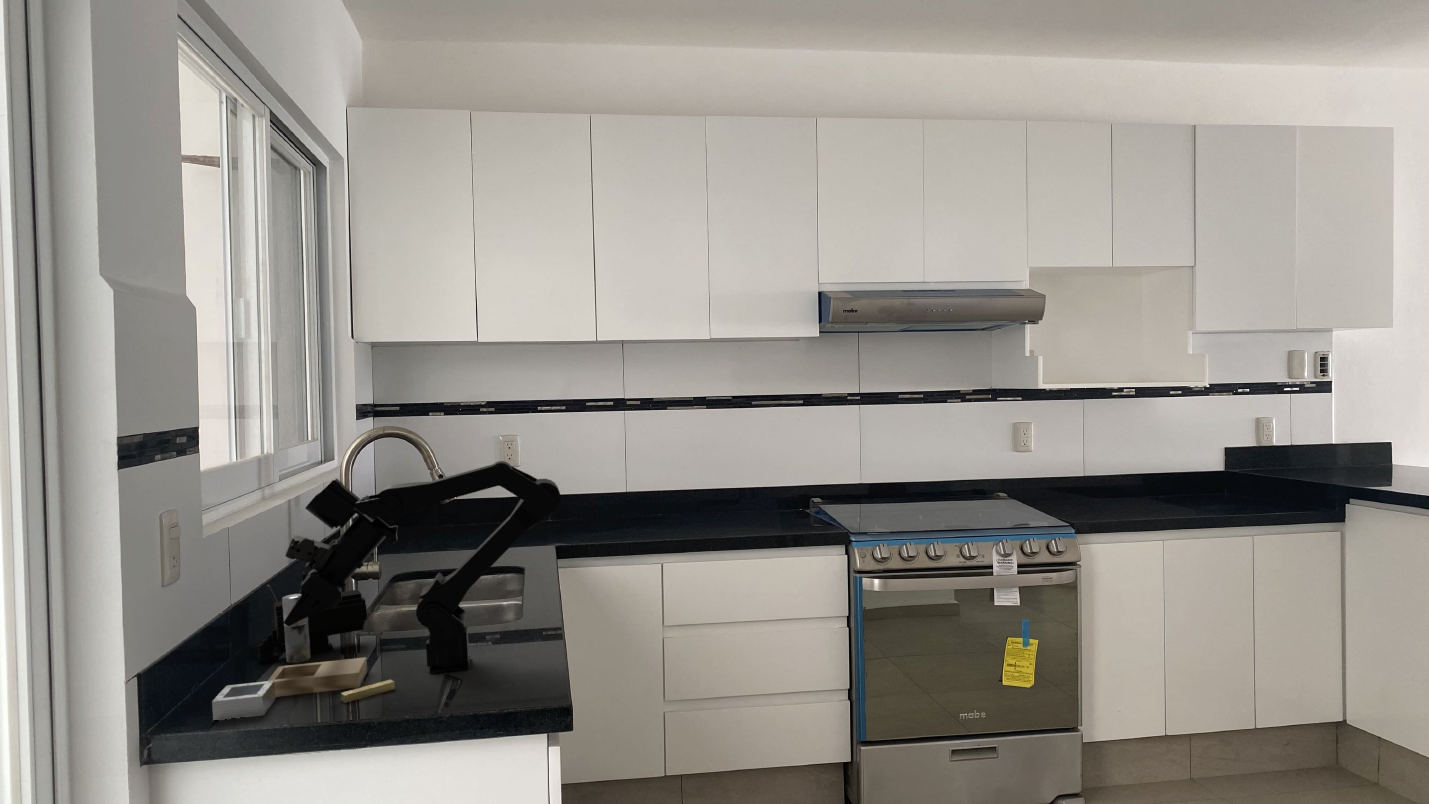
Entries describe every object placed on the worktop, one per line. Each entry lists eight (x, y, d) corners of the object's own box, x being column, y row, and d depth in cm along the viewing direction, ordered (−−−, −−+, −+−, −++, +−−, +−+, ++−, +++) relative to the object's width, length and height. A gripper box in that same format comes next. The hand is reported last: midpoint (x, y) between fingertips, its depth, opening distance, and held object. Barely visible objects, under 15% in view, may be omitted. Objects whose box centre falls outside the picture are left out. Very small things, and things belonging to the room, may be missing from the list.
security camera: (258, 656, 166) (254, 603, 166) (363, 637, 176) (360, 587, 175) (260, 667, 160) (257, 611, 160) (370, 646, 170) (366, 594, 169)
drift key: (390, 686, 147) (390, 679, 147) (394, 688, 146) (394, 681, 146) (341, 700, 142) (340, 693, 142) (344, 703, 141) (344, 695, 141)
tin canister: (313, 654, 151) (309, 593, 151) (305, 662, 148) (301, 598, 147) (292, 656, 151) (287, 594, 150) (283, 663, 147) (278, 600, 147)
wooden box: (367, 671, 155) (366, 657, 155) (359, 687, 148) (358, 672, 148) (279, 681, 152) (278, 666, 152) (267, 697, 145) (266, 682, 145)
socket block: (275, 698, 144) (274, 680, 144) (263, 715, 137) (262, 695, 137) (227, 704, 142) (226, 685, 142) (213, 721, 136) (212, 701, 136)
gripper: (316, 509, 158) (250, 580, 155) (313, 525, 141) (239, 605, 137) (367, 548, 162) (304, 618, 158) (370, 568, 144) (299, 647, 141)
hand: (286, 621), depth 148 cm, fingers closed on tin canister, 4 cm apart
